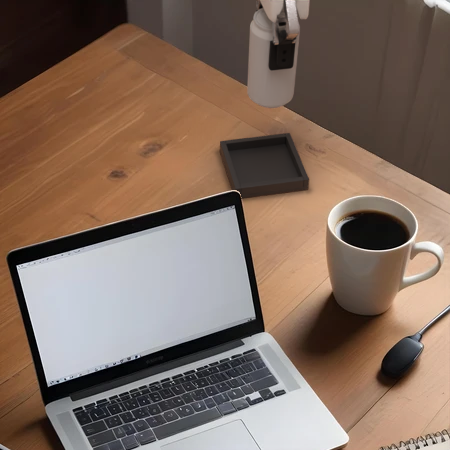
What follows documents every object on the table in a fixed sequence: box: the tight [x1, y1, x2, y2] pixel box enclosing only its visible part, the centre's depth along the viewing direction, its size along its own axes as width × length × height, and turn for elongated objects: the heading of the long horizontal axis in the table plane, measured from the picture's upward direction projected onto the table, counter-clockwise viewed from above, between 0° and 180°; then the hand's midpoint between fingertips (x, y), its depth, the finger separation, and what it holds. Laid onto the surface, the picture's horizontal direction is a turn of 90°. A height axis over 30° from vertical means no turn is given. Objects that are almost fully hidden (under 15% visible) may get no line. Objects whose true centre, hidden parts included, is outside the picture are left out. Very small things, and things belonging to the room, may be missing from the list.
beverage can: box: [246, 8, 301, 109], centre depth 110 cm, size 6×6×12 cm
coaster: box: [219, 132, 310, 199], centre depth 126 cm, size 11×11×2 cm
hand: (273, 51), depth 109 cm, fingers closed on beverage can, 6 cm apart
